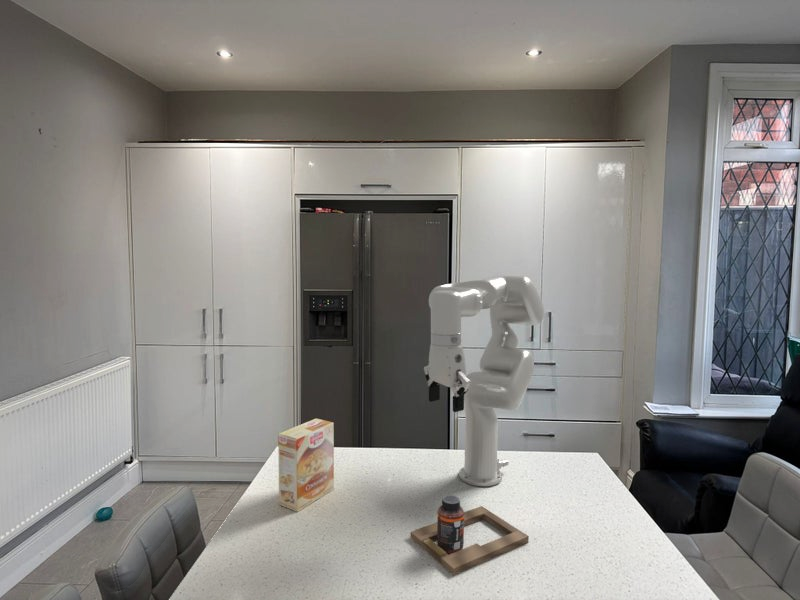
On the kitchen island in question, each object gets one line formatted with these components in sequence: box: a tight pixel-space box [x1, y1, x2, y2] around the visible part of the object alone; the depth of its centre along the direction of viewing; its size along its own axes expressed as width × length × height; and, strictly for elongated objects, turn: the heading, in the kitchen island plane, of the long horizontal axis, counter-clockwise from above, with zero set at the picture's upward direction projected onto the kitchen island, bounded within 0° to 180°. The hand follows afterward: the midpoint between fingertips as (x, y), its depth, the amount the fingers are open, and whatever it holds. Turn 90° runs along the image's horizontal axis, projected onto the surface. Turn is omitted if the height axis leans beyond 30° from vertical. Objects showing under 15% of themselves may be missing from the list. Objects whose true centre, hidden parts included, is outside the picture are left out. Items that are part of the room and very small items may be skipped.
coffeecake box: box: [277, 418, 335, 513], centre depth 134 cm, size 15×7×20 cm, turn 148°
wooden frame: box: [410, 505, 529, 576], centre depth 114 cm, size 22×16×2 cm
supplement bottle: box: [436, 494, 465, 554], centre depth 111 cm, size 6×6×11 cm
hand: (445, 405), depth 126 cm, fingers open, 9 cm apart
